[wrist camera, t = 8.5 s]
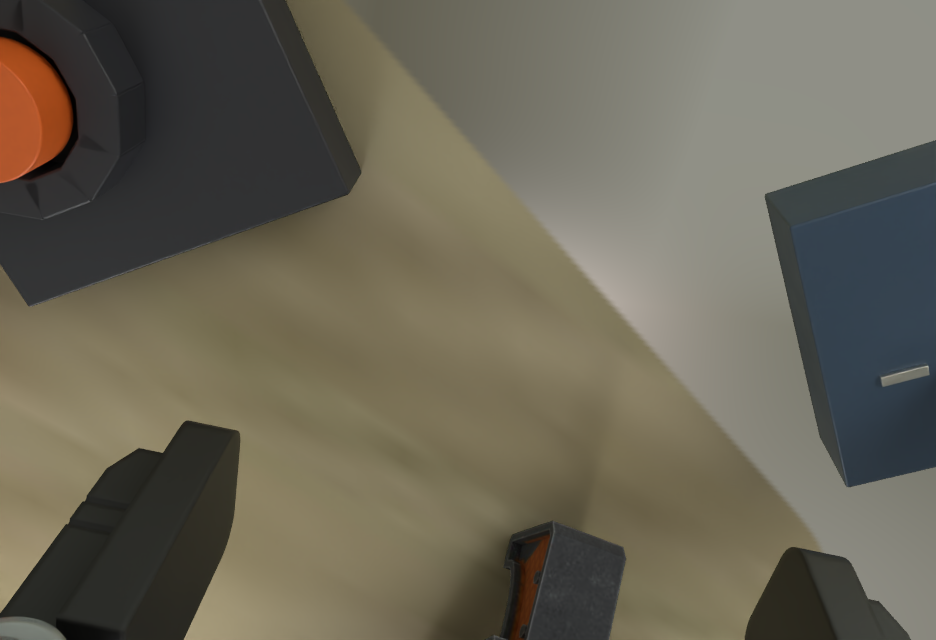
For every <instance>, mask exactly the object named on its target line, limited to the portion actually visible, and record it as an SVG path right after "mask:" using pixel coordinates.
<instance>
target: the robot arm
mask: <svg viewBox="0 0 936 640" xmlns="http://www.w3.org/2000/svg"><path fill="white" fill-rule="evenodd" d="M239 451H240V433H239V431H237V430H232V429H227V428H222V427H217V426H212V425H207V424H203V423H198V422H193V421H185V422H184V423H183V424H182V425H181V427H180V428H179V429H178V431H177V432H176V434H175V436H174V437H173V439H172V440H171V442H170V443H169V445H168V446H167V448H166V449H165V451H164V452H163V453H160V452H155V451H150V450H145V449H140V448H138V449H137V450H135V451H134V452H132V453H130V454H129V455H127V456H126V457H124V458H123V459H121V460H119V461H118V462H116V463H115V464H113V465H112V466H110V467H108V468H107V469H106V470H105V472H104V473H103V474H102V476H101V477H100V478H99V480H98V481H97V483H96V484H95V485H94V487H93V488H92V489H91V491H90V492H89V493H88V495H87V498H86V501H85V502H84V501H83V502H82V503H81V504H80V506H79V507H78V508H77V510H76V511H75V513H74V514H73V515H72V517H71V518H70V522H69V524H68V525H67V524H66V525H65V526H64V528H63V529H62V530H61V532H60V533H59V534H58V536H57V537H56V538H55V540H54V541H53V543H52V544H51V545H50V547H49V548H48V549H47V551H46V552H45V553H44V555H43V556H42V558H41V559H40V560H39V562H38V563H37V564H36V566H35V567H34V568H33V570H32V571H31V573H30V574H29V575H28V577H27V578H26V579H25V581H24V582H23V583H22V585H21V586H20V588H19V589H18V590H17V592H16V593H15V594H14V596H13V597H12V598H11V600H10V601H9V603H8V604H7V605H6V607H5V608H4V609H3V611H2V612H1V613H0V640H184V637H185V635H186V633H187V631H188V629H189V627H190V625H191V622H192V620H193V618H194V616H195V614H196V612H197V610H198V607H199V605H200V603H201V601H202V599H203V597H204V595H205V592H206V590H207V588H208V586H209V584H210V582H211V579H212V577H213V575H214V573H215V571H216V569H217V567H218V564H219V562H220V560H221V558H222V556H223V553H224V551H225V548H226V545H227V542H228V539H229V535H230V532H231V527H232V523H233V517H234V510H235V498H236V487H237V475H238V463H239ZM745 640H911V639H910V637H909V635H908V634H907V632H906V631H905V630H904V629H903V628H902V627H901V626H900V625H899V623H898V622H897V621H896V620H895V619H894V618H893V617H892V616H891V614H890V613H889V612H888V611H887V610H886V609H885V608H884V607H883V605H882V604H881V603H880V602H879V601H874V600H870V599H868V598H867V596H866V594H865V592H864V590H863V587H862V585H861V583H860V581H859V579H858V577H857V575H856V572H855V571H854V568H853V567H852V564H851V563H850V562H849V561H848V560H847V559H846V558H843V557H840V556H835V555H830V554H826V553H821V552H816V551H811V550H806V549H801V548H796V547H791V548H789V549H788V550H786V551H785V553H784V554H783V555H782V557H781V559H780V561H779V563H778V565H777V567H776V568H775V570H774V572H773V574H772V576H771V578H770V580H769V582H768V584H767V586H766V588H765V590H764V592H763V594H762V596H761V598H760V599H759V601H758V603H757V605H756V607H755V609H754V611H753V613H752V615H751V617H750V619H749V622H748V625H747V629H746V634H745Z"/></svg>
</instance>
